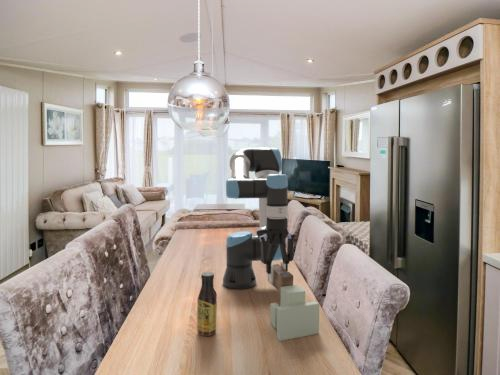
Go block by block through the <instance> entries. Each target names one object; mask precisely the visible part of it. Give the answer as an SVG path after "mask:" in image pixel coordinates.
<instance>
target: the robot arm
mask: <svg viewBox="0 0 500 375" xmlns="http://www.w3.org/2000/svg"><path fill="white" fill-rule="evenodd" d="M282 160H283V159H282V155H281V151H280V149H279V148H277V147H271V146H268V147H244V148H241V149H239V150H237V151H236V152H235V153H233V154H232V155H231V157H230V159H229V167H230V170H231V178H228V179H226V181H225V192H226V198H229V199H236V200H237V199H258V212H259V214H258V218H259V228H258V229H257V230H255V231H256V232H255V233H256V234H253V232H252V231H249V230H248V231H247V230H244V231H243V230H242V231H237V232H233V233H230V234H229V235H228V236H227V237H226V244H225V247H226V268H225V270H224V273H223V278H222V285H223V286H224V287H225V288H228V289H233V290H243V289H244V290H245V289H250V288H253V287H254V286H256V284H257V277H256V273H255V271H254V268H253V262H256V261H257V262H259V261H260V262H261V263H262V264H264V265H265V267H266V269H265V270H266V274H267V275H268V274H269V281H268V282H269V283H270V284H271V285H272V283H273V265H274V264H273V263H272V262H274V261H281V260H282V261H281V262H280V266H281V267H283V268H284V269H285V270H286V271H288V269H289V267H288V266H289V264H290V262H293V260H294V241H295V237H296V234H294V233H292V232H289V230H288V228H289V227H288V226H289V225H288V220H289V219H288V218H287V217H288V216H289V214H288V212H289V211H288V204H289V203H288V193H289V192H288V190H289V188H288V186H289V182H288V175H287V174H284V173H280V172H282V171H283V161H282ZM252 172H254V176H255V177H256V178H250V173H252ZM286 239H287V242H286ZM286 243H287V244H286ZM286 245H287V247H286ZM288 272H289V271H288Z"/></svg>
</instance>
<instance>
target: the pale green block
mask: <svg viewBox="0 0 500 375" xmlns="http://www.w3.org/2000/svg"><path fill="white" fill-rule="evenodd" d="M269 305H270V309H269V310H270V316H269V317H270V325H271V326H272V327H273V328H274V329H276V339H277V340H278V341H279V342H281V341H282V342H283V341H286V340H292V339H296V338H297V339H298V338H302V337H306V336H313V335H317V334H319V333H320V303H319V302H318V301H317V300H316V301H310V302H309V301H308V302H306V290H305V289H304V288H302V287H301V286H299V285H298V284H293V285H291V286H284V287H281V293H280V305H279V304H278V303H277V302H272V303H270V304H269Z"/></svg>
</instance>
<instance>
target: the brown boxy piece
mask: <svg viewBox="0 0 500 375" xmlns="http://www.w3.org/2000/svg"><path fill="white" fill-rule="evenodd" d="M272 265H273V283H272V284H271V285H272V286H273V287H274V288H275V289H276V290H277V291H278V292H279V293H280V294H281V287H284V286H291V285H294V275H293V274H292V273H291V272H290V271H286V270H285V269H284V268H283V267H281V264H279V263H276V264H272ZM267 281H268V282H269V274H268V273H267Z"/></svg>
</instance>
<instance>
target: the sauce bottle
mask: <svg viewBox="0 0 500 375" xmlns="http://www.w3.org/2000/svg"><path fill="white" fill-rule="evenodd" d="M200 278H201V287H200V291H199V292H198V293H199V294H198V296H197V308H196V309H197V312H196V315H197V317H196V322H197V323H196V326H197V327H196V328H197V333H198V334H199V336H202V337H209V336H213V335H214V334H215V333H216V331H217V306H218V301H217V299H218V298H217V295H218V294H217V292H216V289H215V288H214V279H215V273H214V272H212V271H206V272H205V271H204V272H202V273H201V277H200Z"/></svg>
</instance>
